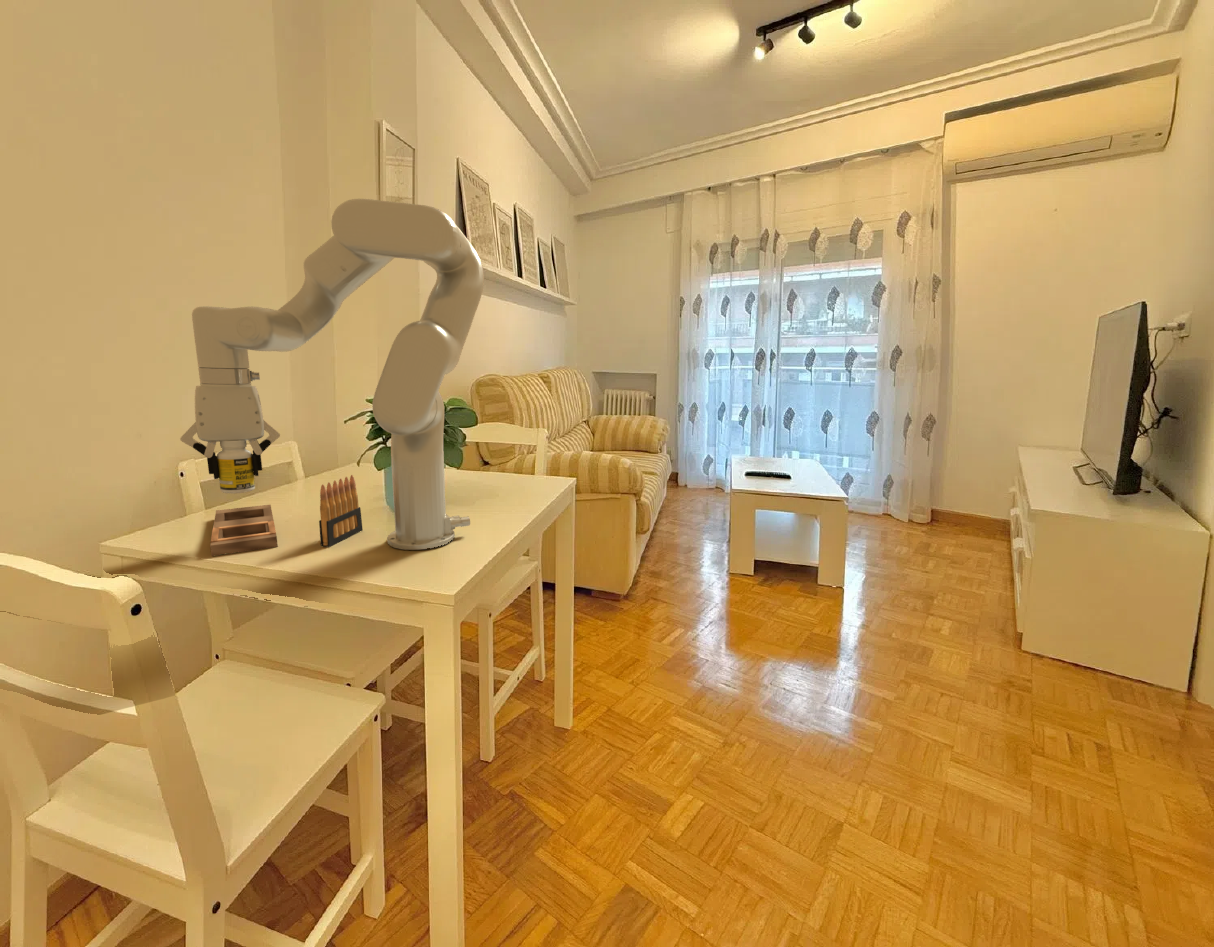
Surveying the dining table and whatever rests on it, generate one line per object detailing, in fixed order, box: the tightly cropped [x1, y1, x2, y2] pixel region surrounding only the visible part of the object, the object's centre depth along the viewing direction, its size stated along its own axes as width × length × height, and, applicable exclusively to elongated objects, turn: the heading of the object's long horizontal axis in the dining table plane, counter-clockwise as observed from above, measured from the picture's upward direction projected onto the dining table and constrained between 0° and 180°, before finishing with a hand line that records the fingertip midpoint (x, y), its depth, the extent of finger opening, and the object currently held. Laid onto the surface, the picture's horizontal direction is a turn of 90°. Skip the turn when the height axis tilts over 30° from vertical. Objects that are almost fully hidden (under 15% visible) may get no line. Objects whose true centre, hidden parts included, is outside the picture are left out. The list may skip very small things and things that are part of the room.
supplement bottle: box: [216, 440, 256, 494], centre depth 98 cm, size 5×5×10 cm
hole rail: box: [209, 504, 279, 557], centre depth 106 cm, size 10×26×2 cm, turn 34°
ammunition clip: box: [318, 474, 363, 548], centre depth 103 cm, size 11×2×12 cm, turn 172°
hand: (236, 475), depth 99 cm, fingers closed on supplement bottle, 5 cm apart
